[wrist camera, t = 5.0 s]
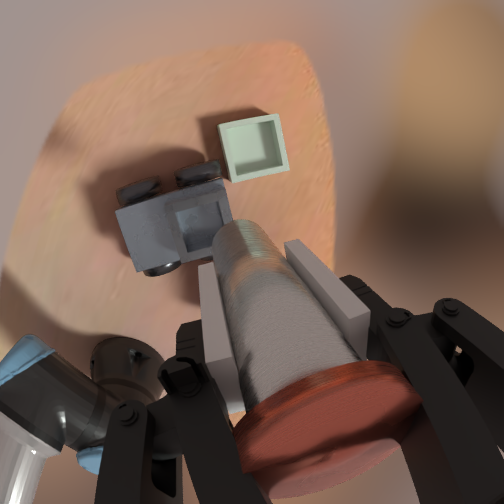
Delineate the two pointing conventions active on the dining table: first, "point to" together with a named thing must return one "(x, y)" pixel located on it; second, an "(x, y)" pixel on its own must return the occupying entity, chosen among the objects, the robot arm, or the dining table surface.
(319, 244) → the dining table surface
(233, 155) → the tray
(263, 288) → the pin
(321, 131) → the dining table surface
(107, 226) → the dining table surface
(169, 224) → the trolley
